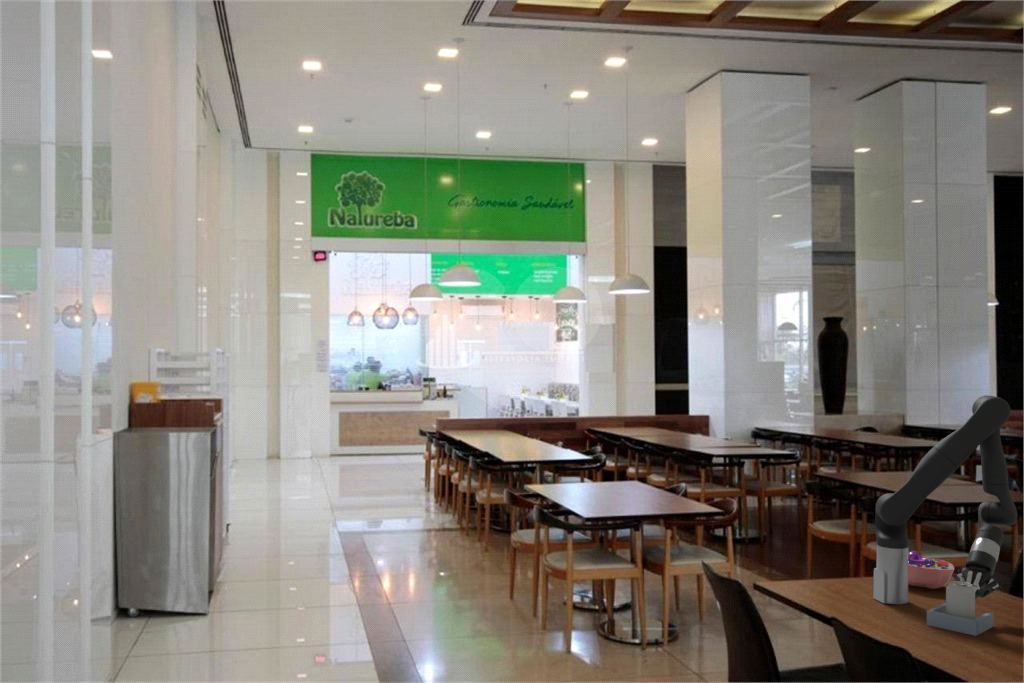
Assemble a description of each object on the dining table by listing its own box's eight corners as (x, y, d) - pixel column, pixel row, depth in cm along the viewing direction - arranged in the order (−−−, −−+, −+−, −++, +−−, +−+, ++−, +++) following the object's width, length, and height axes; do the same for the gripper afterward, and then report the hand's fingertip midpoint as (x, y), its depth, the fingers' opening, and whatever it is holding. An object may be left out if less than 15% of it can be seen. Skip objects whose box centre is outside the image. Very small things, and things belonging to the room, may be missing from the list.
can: (976, 630, 258) (977, 587, 258) (947, 627, 261) (947, 585, 261) (973, 623, 265) (973, 581, 265) (944, 620, 268) (944, 579, 268)
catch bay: (945, 616, 272) (945, 602, 272) (993, 626, 262) (993, 612, 262) (926, 624, 263) (926, 610, 263) (975, 635, 253) (976, 621, 253)
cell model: (932, 597, 293) (932, 561, 293) (881, 583, 311) (881, 549, 311) (967, 591, 301) (967, 556, 301) (915, 577, 319) (915, 545, 319)
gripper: (956, 545, 277) (940, 594, 269) (1003, 553, 268) (988, 603, 259) (963, 560, 281) (947, 608, 272) (1010, 568, 271) (995, 618, 263)
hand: (967, 606), depth 266 cm, fingers closed
